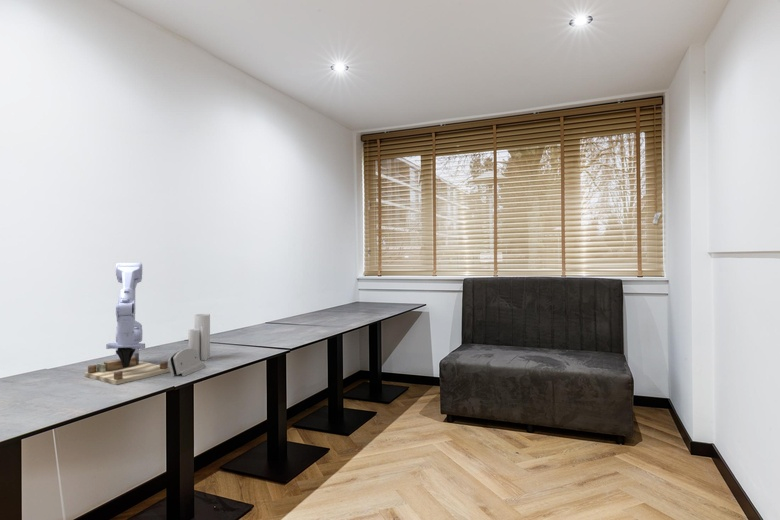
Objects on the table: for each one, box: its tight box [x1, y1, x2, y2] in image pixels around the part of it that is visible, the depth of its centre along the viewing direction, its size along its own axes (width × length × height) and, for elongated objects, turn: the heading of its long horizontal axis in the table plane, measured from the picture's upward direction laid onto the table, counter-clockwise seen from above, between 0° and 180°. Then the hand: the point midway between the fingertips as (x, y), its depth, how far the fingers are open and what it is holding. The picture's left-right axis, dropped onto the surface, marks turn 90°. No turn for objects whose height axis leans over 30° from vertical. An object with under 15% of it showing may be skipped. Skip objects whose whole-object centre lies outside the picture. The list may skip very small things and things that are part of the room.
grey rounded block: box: [167, 348, 206, 378], centre depth 185 cm, size 17×5×10 cm, turn 173°
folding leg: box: [103, 357, 136, 371], centre depth 183 cm, size 12×3×3 cm, turn 154°
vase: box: [188, 313, 211, 361], centre depth 205 cm, size 11×7×20 cm, turn 178°
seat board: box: [84, 352, 171, 386], centre depth 180 cm, size 22×22×6 cm
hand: (125, 366), depth 179 cm, fingers closed
